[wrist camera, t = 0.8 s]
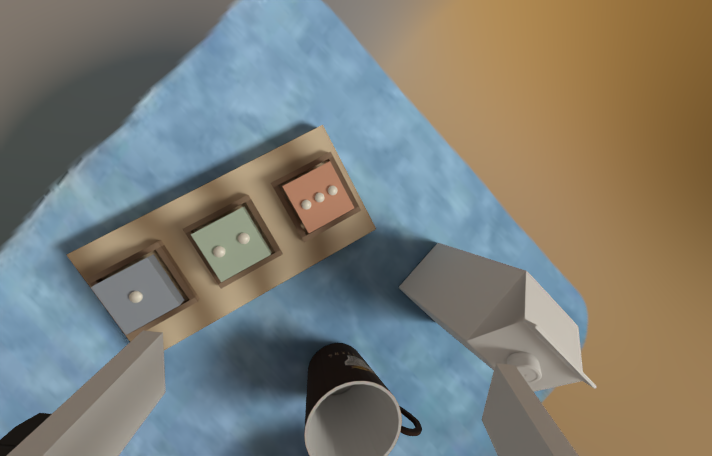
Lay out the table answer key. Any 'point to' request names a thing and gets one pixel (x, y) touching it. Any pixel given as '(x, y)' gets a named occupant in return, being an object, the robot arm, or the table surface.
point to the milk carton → (498, 315)
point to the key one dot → (138, 294)
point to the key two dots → (231, 244)
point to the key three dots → (318, 197)
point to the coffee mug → (350, 407)
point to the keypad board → (212, 202)
